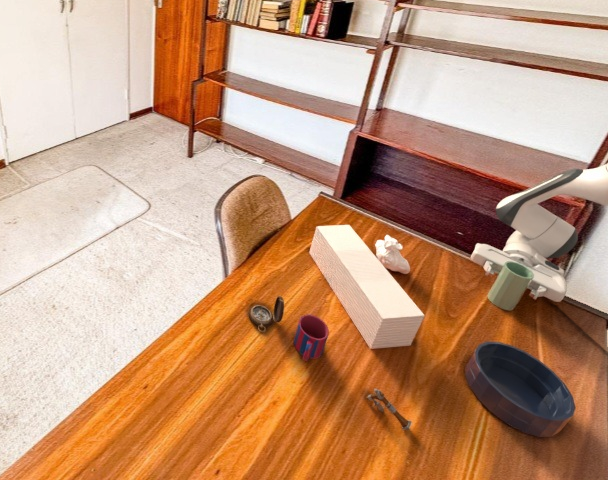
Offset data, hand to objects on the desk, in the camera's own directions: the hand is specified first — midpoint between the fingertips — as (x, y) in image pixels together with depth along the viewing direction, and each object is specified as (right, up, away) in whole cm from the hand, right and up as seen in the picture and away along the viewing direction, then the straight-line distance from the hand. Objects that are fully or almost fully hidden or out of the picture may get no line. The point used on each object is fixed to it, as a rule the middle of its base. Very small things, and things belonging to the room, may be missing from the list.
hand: (510, 284), depth 107 cm
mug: (-61, -11, -12) cm, 63 cm away
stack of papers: (-41, -4, +4) cm, 41 cm away
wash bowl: (-19, -16, -20) cm, 32 cm away
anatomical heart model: (-25, 0, +14) cm, 29 cm away
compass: (-69, -7, -5) cm, 70 cm away
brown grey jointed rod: (-49, -17, -25) cm, 57 cm away
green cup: (0, -6, +3) cm, 7 cm away
